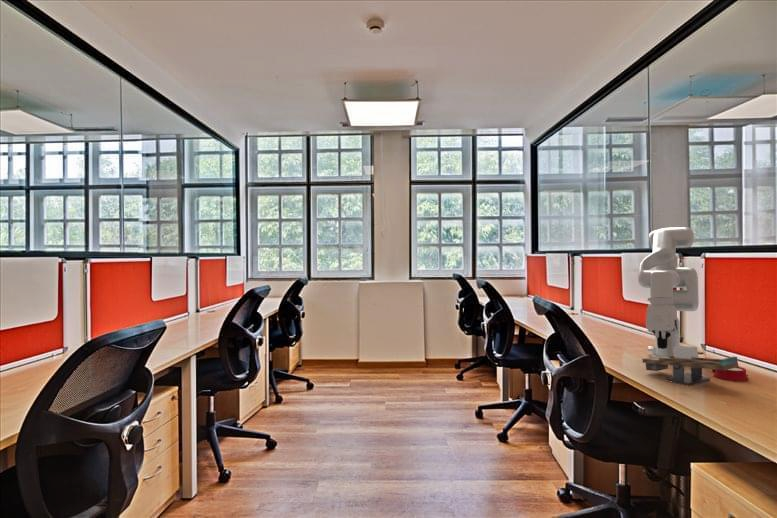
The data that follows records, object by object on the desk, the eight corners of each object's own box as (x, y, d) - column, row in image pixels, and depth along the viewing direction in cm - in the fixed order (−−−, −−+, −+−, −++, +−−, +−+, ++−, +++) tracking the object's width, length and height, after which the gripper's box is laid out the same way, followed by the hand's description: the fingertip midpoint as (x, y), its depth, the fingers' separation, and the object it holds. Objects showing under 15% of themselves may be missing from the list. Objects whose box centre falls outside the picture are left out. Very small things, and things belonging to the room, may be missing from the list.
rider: (674, 360, 160) (672, 347, 161) (681, 359, 163) (680, 345, 163) (691, 362, 155) (689, 348, 156) (698, 360, 157) (697, 346, 158)
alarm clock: (718, 371, 158) (707, 354, 171) (718, 386, 159) (706, 368, 173) (754, 374, 154) (739, 356, 167) (752, 389, 155) (738, 371, 168)
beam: (643, 370, 168) (641, 353, 169) (658, 367, 173) (656, 351, 174) (725, 379, 144) (722, 360, 144) (739, 375, 148) (736, 356, 149)
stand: (665, 380, 159) (664, 362, 159) (687, 375, 166) (686, 357, 166) (688, 386, 152) (688, 367, 152) (710, 380, 159) (710, 361, 159)
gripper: (637, 300, 171) (637, 346, 171) (676, 303, 158) (677, 352, 158) (648, 300, 175) (648, 344, 175) (687, 302, 162) (688, 350, 161)
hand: (662, 348), depth 166 cm, fingers closed
